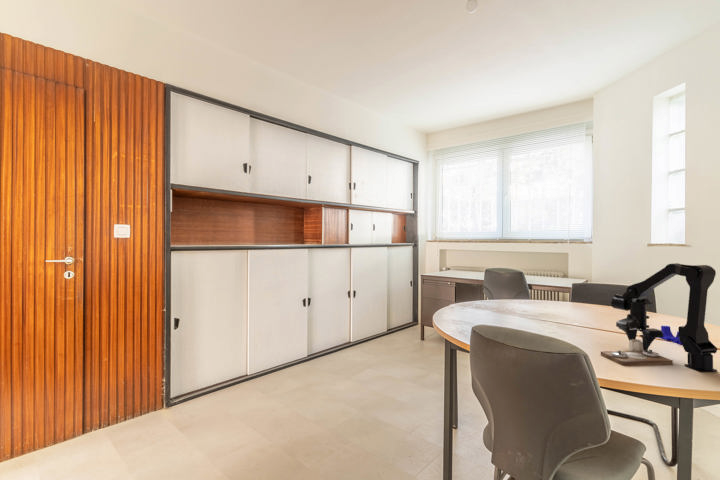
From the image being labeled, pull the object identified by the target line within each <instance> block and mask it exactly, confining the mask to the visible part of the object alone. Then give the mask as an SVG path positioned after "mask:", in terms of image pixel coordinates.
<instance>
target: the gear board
mask: <svg viewBox="0 0 720 480" xmlns="http://www.w3.org/2000/svg"><path fill="white" fill-rule="evenodd" d="M620 351H621V352H622V353H625V354H627V358H617V357H614V356H612V353H611V352H618V350H609V351H605V350H604V351H603V350H602V351H600V356H602V357H604V358H606V359H609V360H611V361H613V362H615V363H617V364H619V365H622V366H650V365H651V366H652V365H653V366H656V365H657V366H658V365H673V364H674V363H673V362H674V361H673V360H672V359H669V358H667V357H664V356H661V355H659V357H658V358H653V357H648V356H644V355H643V351H646V350H643V351H634V350H633V351H632V350H620Z"/></svg>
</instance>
